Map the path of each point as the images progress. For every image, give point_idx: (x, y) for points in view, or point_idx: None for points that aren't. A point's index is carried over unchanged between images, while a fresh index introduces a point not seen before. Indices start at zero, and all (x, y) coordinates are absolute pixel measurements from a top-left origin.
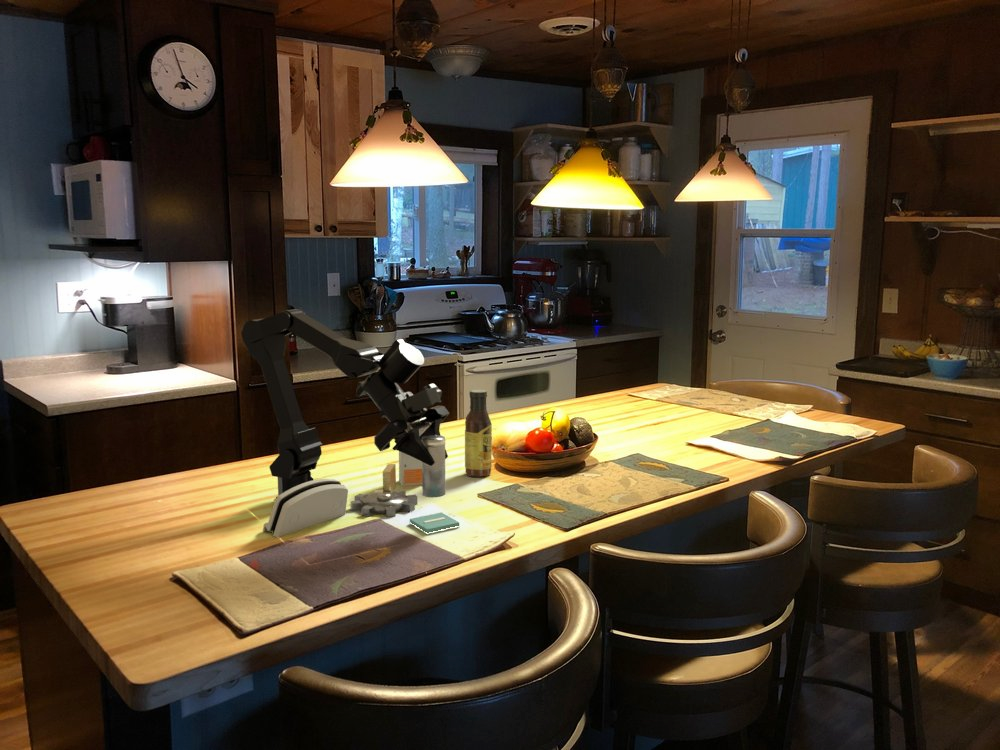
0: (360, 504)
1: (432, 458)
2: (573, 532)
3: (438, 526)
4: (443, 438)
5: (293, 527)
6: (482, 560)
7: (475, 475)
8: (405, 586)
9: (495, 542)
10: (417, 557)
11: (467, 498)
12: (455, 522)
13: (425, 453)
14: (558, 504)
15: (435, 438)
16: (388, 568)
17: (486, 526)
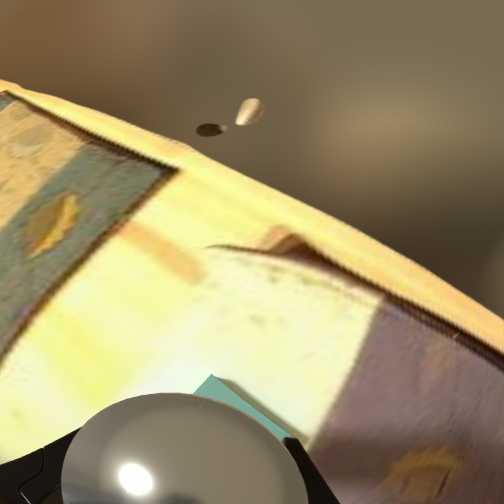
0: None
1: (291, 452)
2: (181, 160)
3: (261, 416)
4: (168, 404)
5: None
6: (373, 265)
7: None
8: (497, 338)
9: (276, 269)
10: (413, 388)
11: (5, 399)
12: (215, 383)
13: (327, 493)
14: (38, 211)
15: (194, 485)
16: (467, 405)
17: (179, 315)
